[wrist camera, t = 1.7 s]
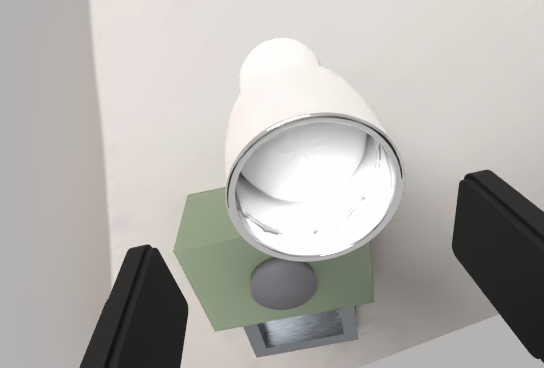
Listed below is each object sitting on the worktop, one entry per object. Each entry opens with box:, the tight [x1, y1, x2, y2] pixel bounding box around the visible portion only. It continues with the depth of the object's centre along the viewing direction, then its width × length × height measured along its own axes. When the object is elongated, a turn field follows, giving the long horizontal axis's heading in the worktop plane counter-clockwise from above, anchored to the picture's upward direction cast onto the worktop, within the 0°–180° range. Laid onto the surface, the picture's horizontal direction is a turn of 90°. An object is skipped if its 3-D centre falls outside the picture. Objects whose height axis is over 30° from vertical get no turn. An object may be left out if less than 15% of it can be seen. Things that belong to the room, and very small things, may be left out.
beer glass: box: [225, 38, 405, 262], centre depth 18 cm, size 7×7×15 cm
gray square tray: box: [243, 306, 358, 357], centre depth 37 cm, size 12×12×3 cm
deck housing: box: [173, 187, 374, 332], centre depth 29 cm, size 14×11×8 cm
